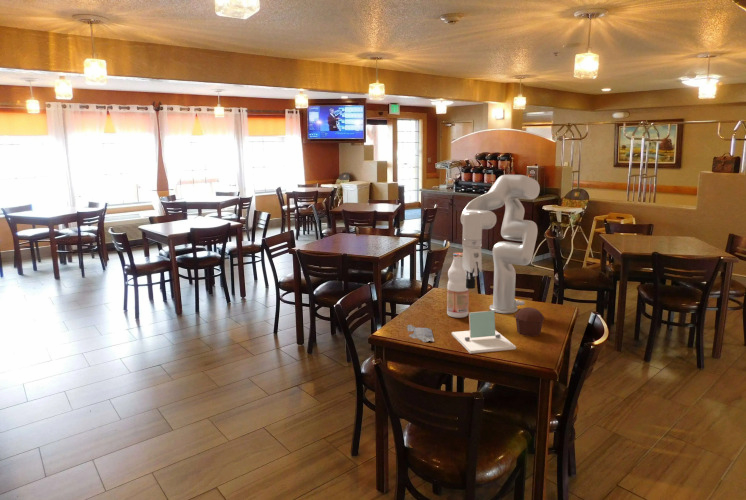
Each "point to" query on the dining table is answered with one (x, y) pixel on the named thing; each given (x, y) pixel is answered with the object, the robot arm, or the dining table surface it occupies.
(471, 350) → the board
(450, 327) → the dining table surface
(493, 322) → the tile
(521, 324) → the muffin
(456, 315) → the fruit juice
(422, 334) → the stone slab
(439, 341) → the dining table surface
